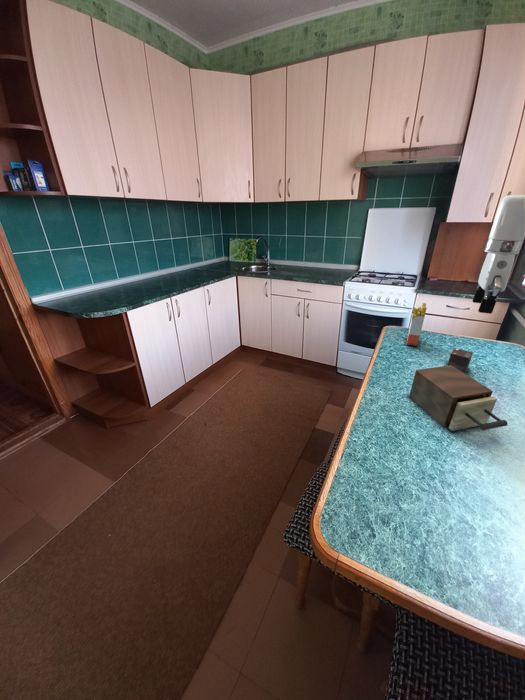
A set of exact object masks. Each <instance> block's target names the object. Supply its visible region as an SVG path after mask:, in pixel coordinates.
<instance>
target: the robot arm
mask: <svg viewBox="0 0 525 700" xmlns="http://www.w3.org/2000/svg"><path fill="white" fill-rule="evenodd" d="M524 240H525V194H509V195H506V196H503V198H501V200H500V202H499V204H498V207H497V211H496V214H495V216H494V220H493V222H492V226H491V229H490V232H489V235H488V238H487V241H486V244H485V247H484V252H485V253H487V254H486V256H485V259H484V261H483V264H482V267H481V270H480V273H479V276H478V281H477V287H476V289H475V291H474V295H473V297H472V303H475V304H479V307H478V310H477V312H478V313H481V314H489V315H491V314H493V311H494V309H495V306H496V304H497V301H498V299H499V295H500V292H501V293H503V292H505V291H506V288H507V285H508V283H509V279H510V276H511V273H512V270H513V267H514V263H515V258H516V255H518V254H519V253H520V251H521V248H522V247H523V246H522V245H523V243H524Z"/></svg>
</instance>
